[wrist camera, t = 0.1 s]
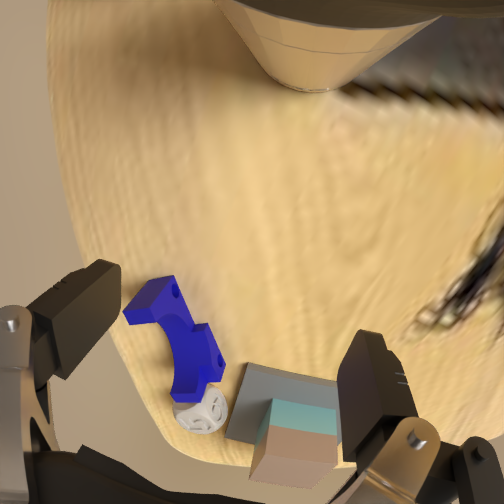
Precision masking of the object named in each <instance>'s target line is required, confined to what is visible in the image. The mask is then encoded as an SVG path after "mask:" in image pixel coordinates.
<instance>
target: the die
mask: <svg viewBox="0 0 504 504" xmlns="http://www.w3.org/2000/svg"><path fill="white" fill-rule="evenodd" d="M173 414H174V417H175V419H176V421H177V422H178V424H179V425H180V426H181V427H183V428H184V429H186V430H188V431H190V432H193V433H197V434H209V433H212V432H214V431H216V430H218V429H219V428H220V427H221V426H222V425H223V424H224V422H225V421H226V418H227V414H228V407H227V402H226V399H225V397H224V395H223V393H222V392H221V391H220V390H219V389H218V388H216V387H215V386H213V385H211V384H207V386H206V389H205V392H204V395H203V398H202V401H201V403H176V402H175V401H174V400H173Z"/></svg>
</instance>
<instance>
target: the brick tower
mask: <svg viewBox="0 0 504 504" xmlns="http://www.w3.org/2000/svg"><path fill="white" fill-rule="evenodd" d="M224 438H228V439H232V440H237V441H241V442H245V443H250V444H254V445H255V448H254V453H253V459H252V464H251V470H250V475H249V480H252V481H258V482H263V483H269V484H275V485H282V486H289V487H297V488H307V489H312V487H314V486H315V485H316V484H317V483H318V482H319V481H320V480H322V479H323V478H324V477H325V476H326V475H327V474H328V473H329V472H330V471H331V470H332V469H333V468H334V467H335V466H336V465H337V464H338V453H337V446H338V445H339V444H340V442H341V441H342V434H341V421H340V409H339V398H338V388H337V382H336V381H331V380H325V379H320V378H315V377H310V376H305V375H300V374H296V373H291V372H286V371H282V370H278V369H273V368H269V367H265V366H261V365H257V364H253V363H249V362H248V365H247V368H246V371H245V374H244V378H243V381H242V384H241V387H240V390H239V393H238V396H237V399H236V402H235V405H234V408H233V412H232V415H231V418H230V421H229V424H228V427H227V430H226V433H225V437H224Z"/></svg>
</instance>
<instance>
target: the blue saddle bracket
mask: <svg viewBox="0 0 504 504" xmlns="http://www.w3.org/2000/svg"><path fill="white" fill-rule="evenodd" d="M122 312H123V314H124V315H125V317H126V319H127V321H128V323H129V325H137V324H146V323H155V322H158V323H159V324H160V326H161V327H162V328H163V329H164V331H165V333H166V335H167V337H168V339H169V341H170V344H171V348H172V352H173V357H174V381H173V386H172V389H171V392H170V395H171V396H172V398H173V399H174V401H175V402H176V403H201V401H202V398H203V395H204V392H205V389H206V386H207V384H208V383H210V382H221V379H222V375H223V372H224V369H225V366H226V363H225V361H224V359H223V357H222V354H221V352H220V350H219V348H218V345H217V343H216V341H215V339H214V336H213V334H212V332H211V329H210V327H209V325H208V323H203V324H194V321H193V319H192V317H191V315H190V312H189V310H188V308H187V305H186V303H185V301H184V299H183V296H182V294H181V291H180V289H179V287H178V284H177V282H176V279H175V277H174V275H172V276H167V277H162V278H157V279H152V280H149V281H148V282H147V283H146V284H145V285H144V286H143V288H142V289H141V290H140V291H139V292H138V293H137V295H136V296H135V297H134V298H133V299H132V301H131V302H130V303H129V304H128V305H127V306H126V308H125V309H124V310H123V311H122Z"/></svg>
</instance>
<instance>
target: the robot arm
mask: <svg viewBox="0 0 504 504" xmlns="http://www.w3.org/2000/svg"><path fill="white" fill-rule="evenodd" d="M213 1H214V3H215V4H216V5H217V7H219V9H220V10H221V11H222V13H223V14H224V15H225V16H226V18H227V19H228V20H229V22H230V23H231V25H232V26H233V27H234V29H235V30H236V31H237V33H238V34H239V36H240V37H241V38H242V40H243V41H244V43H245V44H246V45H247V47H248V48H249V50H250V51H251V53H252V54H253V56H254V57H255V58H256V60H257V61H258V63H259V64H260V65H261V67H262V68H263V69H264V71H265V72H266V73H267V74H268V75H269V76H271V77H272V78H273V79H274V80H275V81H277V82H279V83H281V84H282V85H284V86H286V87H289V88H292V89H295V90H297V91H303V92H310V93H314V92H326V91H331V90H335V89H337V88H339V87H342V86H344V85H346V84H347V83H349V82H350V81H351V80H353V79H354V78H355V77H357V76H358V75H360V74H361V73H362V72H364V71H365V70H366V69H368V68H369V67H370V66H372V65H373V64H374V63H376V62H377V61H378V60H380V59H381V58H383V57H384V56H385V55H387V54H388V53H389V52H391V51H392V50H394V49H395V48H396V47H398V46H399V45H401V44H402V43H403V42H405V41H406V40H408V39H409V38H411V37H412V36H413V35H414V34H416V33H417V32H419V31H420V30H421V29H423V28H424V27H426V26H427V25H429V24H430V23H432V22H433V21H435V20H436V19H438V18H439V17H441V16H451V17H462V18H499V17H504V0H213ZM120 308H121V267H120V266H119V265H118V264H115V263H112V262H109V261H106V260H102V259H98V260H96V261H95V262H93V263H92V264H91V265H89V266H88V267H87V268H82V269H80V270H77V271H74V272H71V273H70V274H68V275H67V276H66V277H64V278H63V279H61V281H60V282H57V283H56V284H55V285H53V288H50V289H48V290H47V291H46V292H44V293H43V294H42V295H41V296H39V297H38V298H37V299H36V300H34V301H33V302H32V303H31V304H29V305H28V306H27V307H22V306H19V305H9V306H4V307H2V308H0V504H265V503H258V502H253V501H247V500H242V499H237V498H231V497H227V496H223V495H218V494H196V493H181V492H171V491H166V490H164V489H162V488H160V487H158V486H156V485H155V484H153V483H152V482H150V481H148V480H147V479H145V478H144V477H142V476H141V475H139V474H137V473H136V472H135V471H133V470H132V469H130V468H129V467H127V466H126V465H124V464H123V463H121V462H119V461H116V460H114V459H112V458H110V457H107V456H105V455H103V454H101V453H99V452H97V451H95V450H92V449H91V448H89V447H87V446H84V445H83V444H82V446H81V447H80V449H79V451H78V453H72V452H66V451H60V448H59V445H58V442H57V439H56V436H55V431H54V423H53V414H52V404H51V392H50V391H51V390H50V382H49V379H50V377H51V376H52V375H53V374H54V375H56V376H58V377H60V378H62V379H64V380H66V379H67V378H68V377H69V375H70V374H71V373H72V372H73V370H74V369H75V368H76V367H77V365H78V364H79V363H80V362H81V361H82V360H83V358H84V357H85V356H86V355H87V353H88V352H89V351H90V350H91V349H92V347H93V346H94V345H95V344H96V343H97V341H98V340H99V339H100V338H101V337H102V336H103V334H104V333H105V332H106V331H107V330H108V329H109V327H110V326H111V325H112V324H113V323H114V322H115V320H116V319H117V317H118V315H119V312H120ZM404 374H405V373H404V370H403V367H402V365H401V362H400V361H399V359H398V358H397V357H396V356H395V354H394V353H393V352H392V351H389V350H387V347H386V344H385V341H384V338H383V336H382V334H380V333H376V332H371V331H366V330H361V329H360V330H358V332H357V333H356V335H355V336H354V339H353V341H352V343H351V345H350V347H349V349H348V351H347V353H346V355H345V356H344V358H343V360H342V362H341V364H340V367H339V370H338V374H337V388H338V398H339V409H340V421H341V434H342V450H343V462H356V464H357V470H355V471H354V472H353V473H352V475H351V476H350V477H349V478H348V479H347V480H346V482H345V483H344V484H343V485H342V486H341V487H340V489H339V490H338V491H337V492H336V493H335V494H334V495H333V497H331V499H330V500H329V501H328V502H327V503H326V504H451V503H452V502H453V501H454V500H456V499H457V498H459V503H460V504H504V478H503V474H502V472H501V468H500V464H499V461H498V458H497V455H496V452H495V450H494V448H493V447H492V445H491V444H490V443H489V442H488V441H487V440H485V439H484V438H481V437H477V436H474V437H470V438H468V439H467V440H466V441H465V442H464V443H463V444H462V445H461V446H456V445H453V444H449V443H446V442H443V441H440V436H439V434H438V432H437V430H436V429H435V427H434V426H433V425H432V424H431V423H429V422H428V421H426V420H424V419H422V418H419V416H418V413H417V410H416V407H415V403H414V400H413V397H412V394H411V391H410V388H409V385H407V384H408V382H407V379H406V376H404Z"/></svg>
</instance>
